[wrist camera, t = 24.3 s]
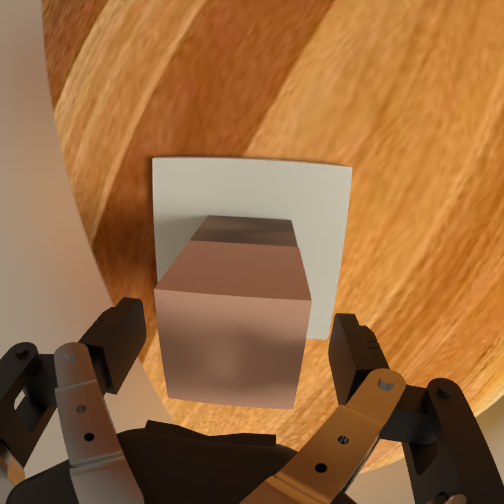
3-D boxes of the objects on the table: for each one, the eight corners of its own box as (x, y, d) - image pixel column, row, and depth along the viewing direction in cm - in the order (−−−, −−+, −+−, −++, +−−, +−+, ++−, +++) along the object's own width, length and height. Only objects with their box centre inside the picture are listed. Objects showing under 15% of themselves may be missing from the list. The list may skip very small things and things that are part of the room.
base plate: (346, 165, 19) (352, 167, 18) (324, 327, 23) (327, 339, 22) (160, 156, 20) (152, 158, 18) (167, 317, 24) (162, 327, 22)
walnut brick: (291, 219, 19) (298, 247, 14) (284, 294, 21) (287, 338, 16) (208, 215, 19) (188, 240, 15) (208, 289, 21) (192, 331, 16)
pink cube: (299, 247, 14) (312, 300, 10) (288, 338, 16) (292, 409, 11) (189, 240, 15) (153, 289, 10) (193, 330, 16) (168, 397, 12)
